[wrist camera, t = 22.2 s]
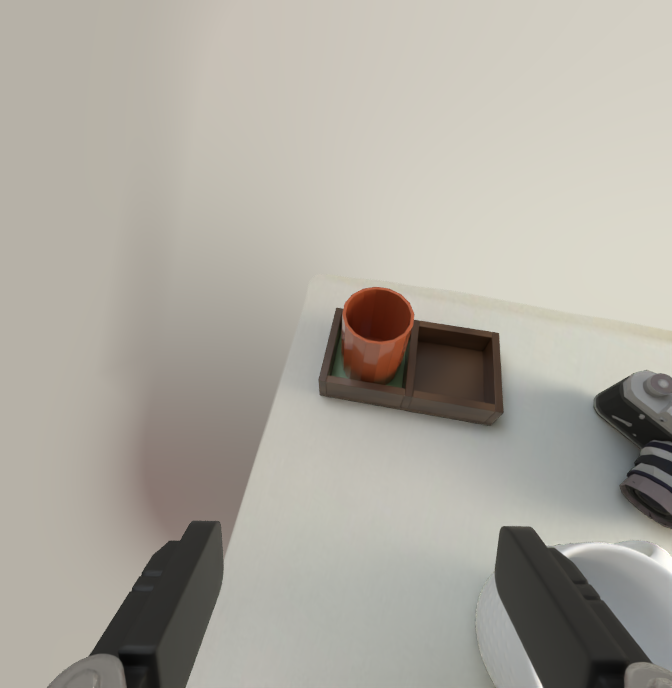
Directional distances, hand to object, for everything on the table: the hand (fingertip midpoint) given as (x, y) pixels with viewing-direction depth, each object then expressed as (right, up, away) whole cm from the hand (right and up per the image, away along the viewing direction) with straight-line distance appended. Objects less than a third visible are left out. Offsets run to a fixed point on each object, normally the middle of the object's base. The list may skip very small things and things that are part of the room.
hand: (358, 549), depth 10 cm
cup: (+3, +4, +31) cm, 32 cm away
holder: (+7, +3, +31) cm, 32 cm away
